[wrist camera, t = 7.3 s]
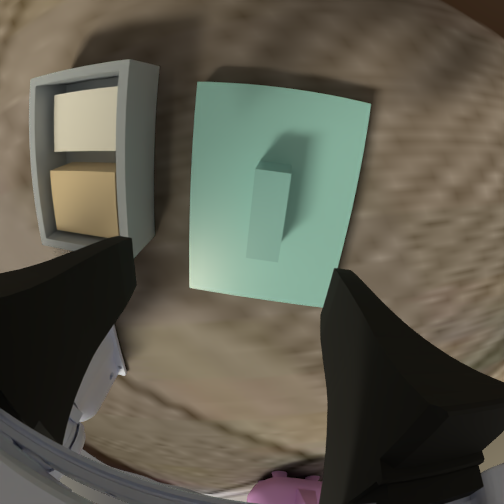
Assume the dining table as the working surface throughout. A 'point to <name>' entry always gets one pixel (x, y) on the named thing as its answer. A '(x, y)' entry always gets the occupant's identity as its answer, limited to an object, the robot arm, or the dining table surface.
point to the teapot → (286, 490)
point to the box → (94, 153)
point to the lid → (272, 189)
